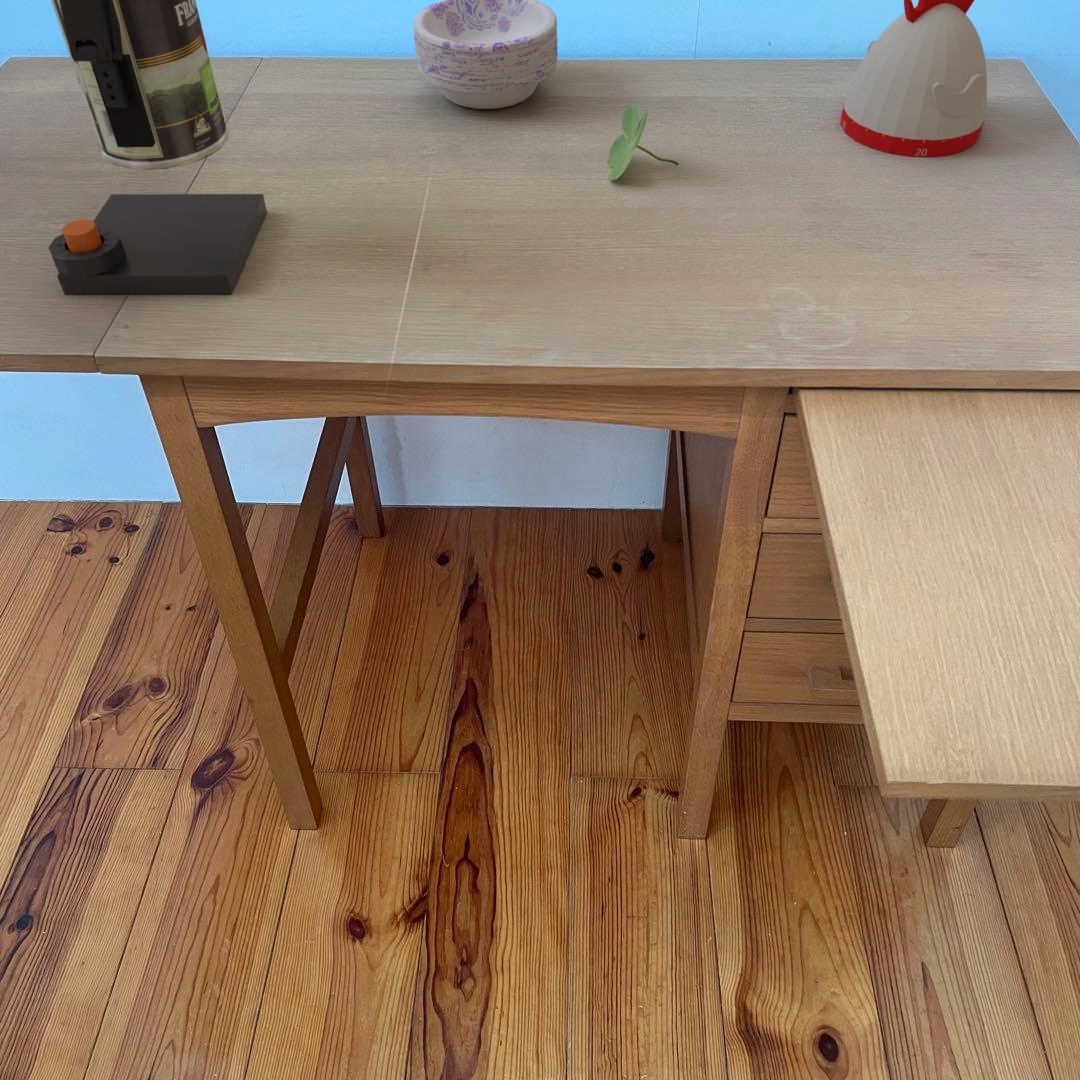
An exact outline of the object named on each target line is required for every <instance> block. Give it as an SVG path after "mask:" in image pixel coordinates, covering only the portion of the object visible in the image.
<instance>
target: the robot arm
mask: <svg viewBox="0 0 1080 1080" xmlns="http://www.w3.org/2000/svg"><path fill="white" fill-rule="evenodd" d="M59 2H60V6H61V11H62V16H63V20H64V25H65V30H66V34H67V39H68V44H69V48H70V53H71V56H72V58H73V60H74V61H89V62H90V63H91V66H92V69H93V72H94V75H95V78H96V81H97V84H98V87H99V90H100V94H101V97H102V100H103V103H104V106H105V109H106V112H107V115H108V118H109V121H110V125H111V128H112V131H113V134H114V137H115V140H116V143H117V146H118V147H153V146H154V144H155V139H154V136H153V132H152V129H151V126H150V122H149V119H148V115H147V112H146V109H145V105H144V102H143V98H142V95H141V92H140V88H139V85H138V81H137V78H136V75H135V71H134V68H133V64H132V61H131V58H130V55H123V51H122V42H121V32H120V24H119V21H118V17H117V14H116V10H115V7H114V4H113V0H59ZM94 41H95V42H94Z"/></svg>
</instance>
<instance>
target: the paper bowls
mask: <svg viewBox="0 0 1080 1080" xmlns="http://www.w3.org/2000/svg"><path fill="white" fill-rule="evenodd" d="M412 28H413V39H414V50H415V55H416V58H415V59H416V64H417V65H416V67H417V71H418V74H419V75H420V77H421V78H422V79H423V80H424V81H425V82H426V83H428V84H431V85H433V86H435V87H438V88H439V90H440V92H441V94H442V95H443V96H444V97H445V98H446V99H447V101H450V102H451V103H453V104H455V105H457V106H460V107H464V108H469V109H476V110H497V109H503V108H508V107H511V106H514V105H517V104H519V103H522V102H523V101H526V99H527V100H528V98H530V97H531V96H532V95H533V93H534V92H535V91H536V89H537V86H538V85H539V83H540V81H543V80H544V79H546V78H549V76H551V74H552V73H553V72H554V71H555V69H556V68H557V64H558V55H559V54H558V42H559V40H558V19H557V16H556V14H555V12H554V10H553V9H552V8H551V7H549V6H548V5H546V4H545V3H543V2H541V1H538V0H439V1H437V2H434V3H432V4H430V5H427V6H426V7H425V8H423V9H421V10H420V12H419V13H417V14H416V16H415V18H414V21H413V25H412Z"/></svg>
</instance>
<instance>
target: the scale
mask: <svg viewBox="0 0 1080 1080" xmlns="http://www.w3.org/2000/svg"><path fill="white" fill-rule="evenodd" d="M266 205H267V204H266V201H265V197H264V194H263V193H188V194H187V193H160V194H159V193H152V194H151V193H146V194H145V193H139V194H135V193H133V194H132V193H131V194H129V193H128V194H127V193H125V194H121V193H120V194H117V193H115V194H113V193H112V194H110V195H109V197H108V199H107V200H106V201H105V202H104V204H103V206H102V208H101V209H100V210H99V212H98V213H97V214H96V216H95V218H94V219H93V220H92V221H93V222H94V223H95V224H96V227H97V230H98V233H99V235H100V238H101V241H102V245H101V246H99V247H98V248H96V249H94V250H91V251H88V252H84V253H73V252H71V251H70V250H69V247H68V245H67V242H66V240H65V237H64V234H63V233H62V234H60V235H58V236H56V237H54V239H53V240H52V242H51V243H50V244H49V245H48V250H49V253H50V255H51V258H52V260H53V263H54V265H55V268H56V271H57V273H58V274H57V276H56V277H57V280H58V281H59V285H60V287H61V290H62V292H63V294H64V296H233V294H234V291H235V289H236V287H237V284H238V282H239V280H240V278H241V275H242V273H243V271H244V268H245V266H246V264H247V261H248V259H249V256H250V254H251V252H252V250H253V247H254V244H255V242H256V240H257V237H258V235H259V233H260V230H261V228H262V226H263V224H264V222H265V219H266V216H267V214H268V211H267V206H266Z"/></svg>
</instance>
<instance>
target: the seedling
mask: <svg viewBox="0 0 1080 1080" xmlns="http://www.w3.org/2000/svg"><path fill="white" fill-rule="evenodd" d="M647 118H648V109H644V111H643V113H642V116H641V118H640V114H639V110H638V104H637V102H636V101H630V102H628V104H627V106H626V107H625V110H624V112H623V115H622V120H621V126H622V130H623V133H624V134H621V135H618V136H617V137H616V138H615V139H614V141H613V143H612V145H611V147H610V149H609V154H608V157H607V166H608V168H611V170H610V171H609V174H608V178H609V180H610V181H615V180H617V179H619V178H620V177H621V175H622V174H623V173H624V172H625V170H626V169H627V168H628V166H629V164H630V162H631V160H632V157H633V154H634V150H636V148H637V149H639V150H641V151H642V152H645V153H647V154H649V155H650V156H651V157H653V158H654V159H656V160H658V161H660V162H668V163H672V164H674V165H676V166H679V162H677V161H676V160H673V159H667V158H662V157H659V156H657V155H655V153H652V152H651V151H650V150H648V149H646V148H644V147H642V146H641V145H639V143H640V141H641V139H642V136H643V133H644V130H645V127H646V123H647Z"/></svg>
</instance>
